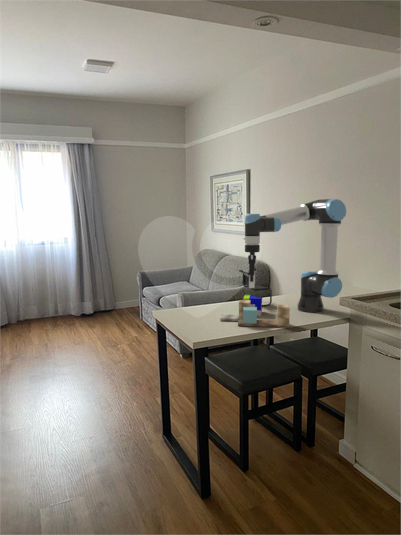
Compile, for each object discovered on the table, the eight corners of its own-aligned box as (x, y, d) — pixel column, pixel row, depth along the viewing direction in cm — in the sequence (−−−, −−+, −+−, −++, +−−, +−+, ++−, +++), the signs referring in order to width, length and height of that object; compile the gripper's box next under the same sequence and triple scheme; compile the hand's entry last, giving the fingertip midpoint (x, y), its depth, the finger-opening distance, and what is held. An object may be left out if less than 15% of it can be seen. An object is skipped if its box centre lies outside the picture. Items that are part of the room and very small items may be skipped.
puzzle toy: (260, 316, 226) (261, 298, 225) (243, 315, 228) (243, 298, 227) (261, 311, 236) (261, 295, 234) (244, 311, 238) (244, 294, 236)
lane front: (288, 322, 210) (288, 304, 209) (289, 327, 203) (289, 308, 201) (238, 321, 214) (238, 303, 213) (238, 325, 207) (237, 306, 205)
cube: (256, 320, 212) (256, 307, 211) (256, 323, 205) (256, 310, 204) (243, 319, 213) (243, 306, 212) (242, 323, 206) (242, 310, 205)
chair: (237, 303, 256) (237, 269, 253) (261, 301, 262) (262, 268, 259) (247, 308, 244) (247, 272, 241) (272, 305, 250) (272, 270, 247)
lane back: (250, 317, 222) (250, 299, 221) (249, 321, 214) (250, 303, 213) (221, 316, 225) (221, 299, 223) (220, 320, 217) (220, 302, 215)
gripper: (245, 242, 216) (245, 281, 219) (243, 246, 192) (243, 289, 195) (259, 242, 215) (259, 281, 218) (259, 246, 191) (259, 290, 194)
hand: (251, 285), depth 206 cm, fingers open, 13 cm apart
